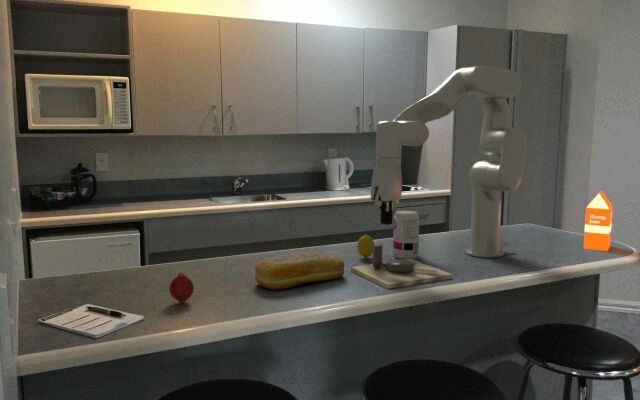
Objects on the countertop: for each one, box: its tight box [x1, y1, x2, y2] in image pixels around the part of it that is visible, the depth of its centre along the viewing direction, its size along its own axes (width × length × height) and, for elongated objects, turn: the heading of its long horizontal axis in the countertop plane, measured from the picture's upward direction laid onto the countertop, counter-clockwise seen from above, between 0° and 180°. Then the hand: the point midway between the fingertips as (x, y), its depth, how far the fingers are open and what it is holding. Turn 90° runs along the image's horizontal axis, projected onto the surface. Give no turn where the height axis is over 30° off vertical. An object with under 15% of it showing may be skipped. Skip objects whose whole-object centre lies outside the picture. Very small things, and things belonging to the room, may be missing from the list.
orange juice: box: [583, 190, 614, 252], centre depth 196 cm, size 8×9×20 cm
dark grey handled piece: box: [372, 244, 438, 273], centre depth 162 cm, size 19×8×6 cm, turn 67°
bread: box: [254, 251, 345, 291], centre depth 157 cm, size 13×26×8 cm, turn 126°
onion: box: [169, 271, 195, 304], centre depth 138 cm, size 6×6×8 cm
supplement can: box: [392, 210, 420, 260], centre depth 184 cm, size 8×8×15 cm
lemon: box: [357, 234, 375, 259], centre depth 182 cm, size 6×6×8 cm
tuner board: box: [350, 259, 453, 290], centre depth 163 cm, size 22×20×1 cm
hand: (386, 223), depth 167 cm, fingers closed
